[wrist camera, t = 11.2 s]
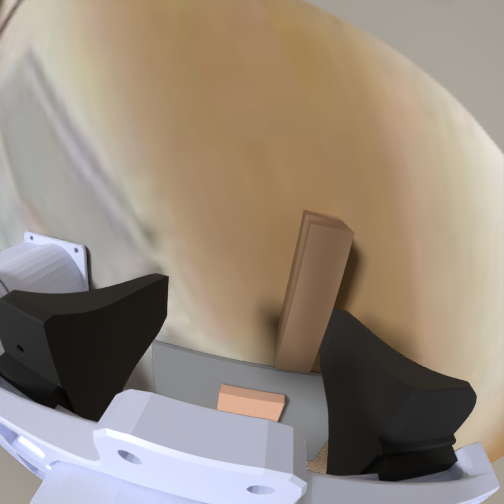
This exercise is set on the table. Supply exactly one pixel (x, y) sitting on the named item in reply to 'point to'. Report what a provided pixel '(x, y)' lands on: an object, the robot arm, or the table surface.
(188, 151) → the table surface
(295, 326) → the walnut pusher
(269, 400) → the tile
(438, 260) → the table surface
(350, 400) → the robot arm
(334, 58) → the table surface
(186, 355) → the mat
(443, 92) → the table surface
